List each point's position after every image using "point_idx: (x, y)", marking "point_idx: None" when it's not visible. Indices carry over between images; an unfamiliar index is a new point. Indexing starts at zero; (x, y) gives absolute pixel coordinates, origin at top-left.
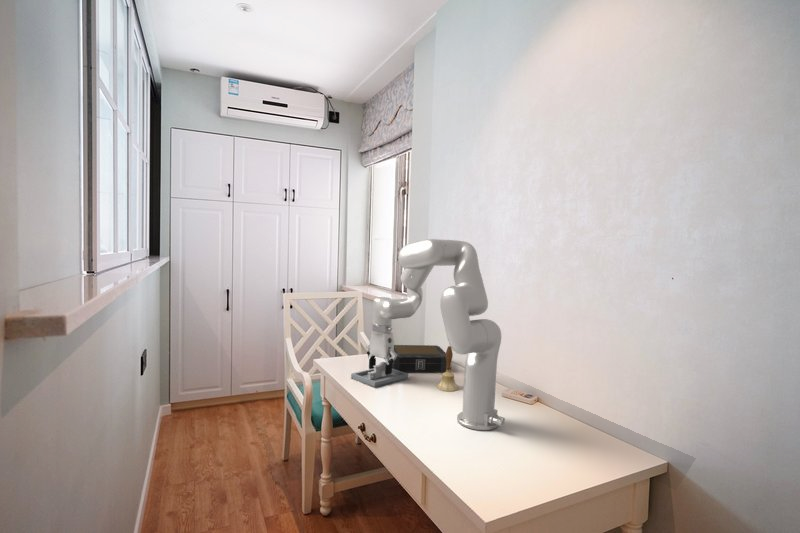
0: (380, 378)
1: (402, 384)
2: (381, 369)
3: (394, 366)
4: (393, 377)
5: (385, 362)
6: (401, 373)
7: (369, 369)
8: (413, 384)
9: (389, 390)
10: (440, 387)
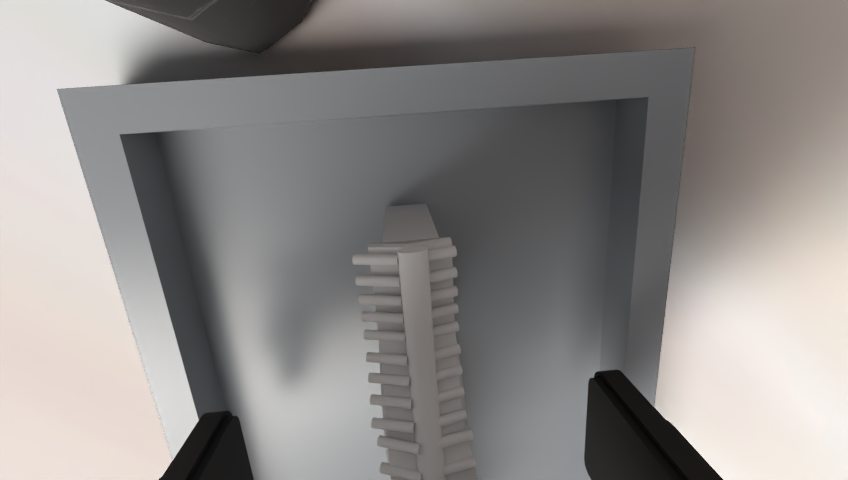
0: None
1: (728, 276)
2: (160, 201)
3: (268, 3)
4: (652, 357)
5: (437, 452)
6: (566, 102)
7: (162, 421)
8: (826, 167)
9: (740, 477)
10: None
